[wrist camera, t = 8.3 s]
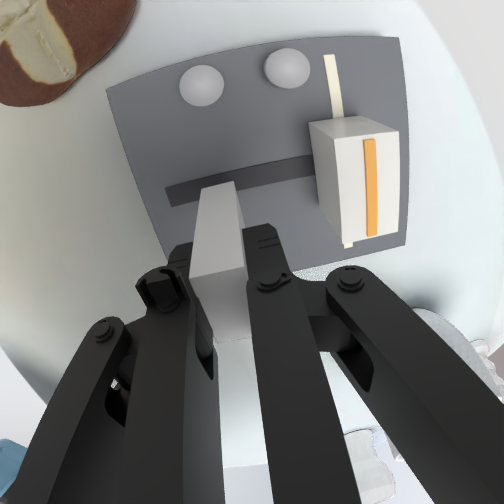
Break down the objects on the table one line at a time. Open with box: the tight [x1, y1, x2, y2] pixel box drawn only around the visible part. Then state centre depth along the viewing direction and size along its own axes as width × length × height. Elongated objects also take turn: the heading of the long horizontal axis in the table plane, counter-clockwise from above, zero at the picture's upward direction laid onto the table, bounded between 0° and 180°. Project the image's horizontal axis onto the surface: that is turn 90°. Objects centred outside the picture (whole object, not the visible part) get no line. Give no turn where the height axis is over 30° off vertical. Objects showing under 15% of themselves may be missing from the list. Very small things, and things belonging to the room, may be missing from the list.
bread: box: [0, 0, 136, 107], centre depth 9 cm, size 11×11×5 cm
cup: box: [344, 429, 395, 504], centre depth 40 cm, size 11×11×15 cm
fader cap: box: [308, 116, 400, 244], centre depth 14 cm, size 3×5×4 cm, turn 12°
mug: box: [385, 308, 502, 462], centre depth 22 cm, size 15×11×13 cm
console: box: [106, 36, 409, 272], centre depth 16 cm, size 16×14×4 cm
